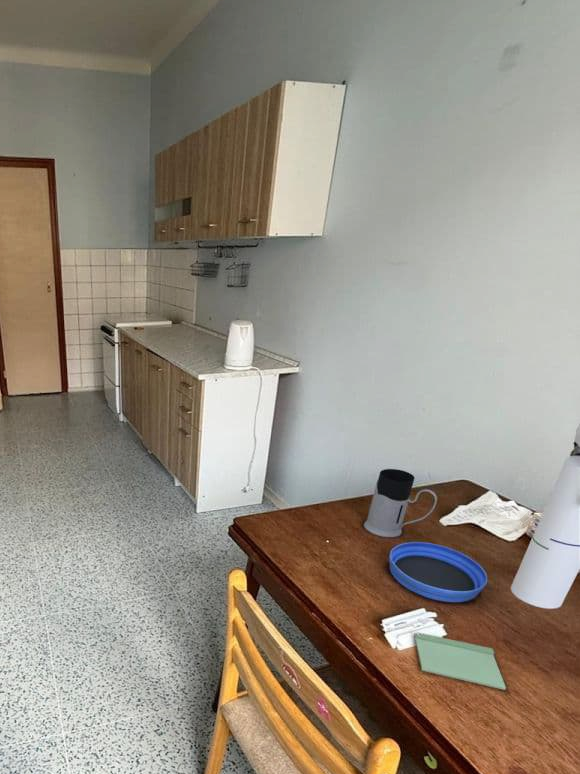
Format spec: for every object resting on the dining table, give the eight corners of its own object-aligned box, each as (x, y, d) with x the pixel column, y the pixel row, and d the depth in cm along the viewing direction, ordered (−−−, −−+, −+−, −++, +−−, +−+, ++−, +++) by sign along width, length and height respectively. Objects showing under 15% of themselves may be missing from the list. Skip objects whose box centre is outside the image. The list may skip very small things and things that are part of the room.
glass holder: (374, 516, 126) (387, 464, 119) (430, 537, 117) (448, 483, 110) (357, 527, 122) (370, 474, 115) (414, 550, 112) (432, 494, 105)
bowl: (368, 565, 107) (371, 552, 105) (426, 548, 113) (430, 535, 111) (439, 614, 92) (444, 600, 91) (502, 592, 98) (508, 578, 96)
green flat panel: (490, 651, 84) (492, 647, 83) (505, 690, 76) (507, 686, 76) (414, 634, 88) (415, 630, 87) (421, 670, 80) (423, 666, 80)
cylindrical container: (553, 614, 79) (622, 478, 67) (504, 593, 84) (559, 463, 72) (568, 597, 82) (635, 465, 70) (519, 577, 87) (574, 452, 76)
